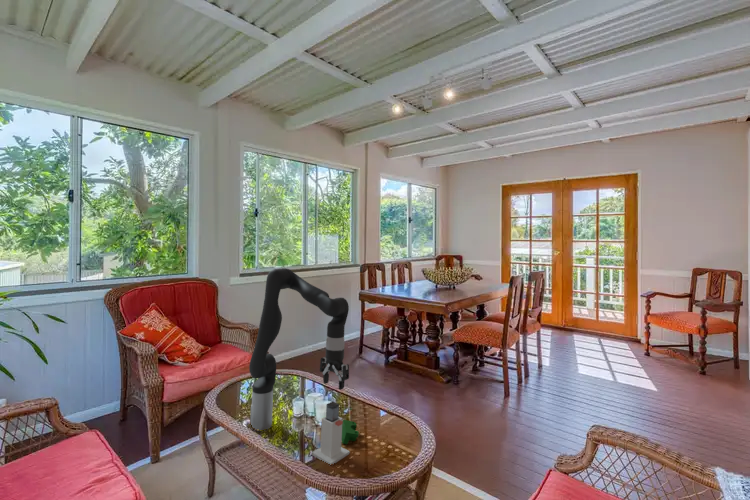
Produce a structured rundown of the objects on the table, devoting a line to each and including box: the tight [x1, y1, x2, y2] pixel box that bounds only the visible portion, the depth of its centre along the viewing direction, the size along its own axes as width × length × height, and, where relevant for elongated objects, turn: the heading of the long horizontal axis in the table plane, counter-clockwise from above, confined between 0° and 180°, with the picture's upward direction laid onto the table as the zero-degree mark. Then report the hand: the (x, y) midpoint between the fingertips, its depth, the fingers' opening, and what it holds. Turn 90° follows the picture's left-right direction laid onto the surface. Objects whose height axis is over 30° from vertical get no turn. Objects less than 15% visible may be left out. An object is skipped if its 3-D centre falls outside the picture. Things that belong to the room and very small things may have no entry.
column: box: [325, 401, 340, 422], centre depth 151 cm, size 4×4×20 cm
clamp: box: [341, 419, 360, 445], centre depth 164 cm, size 12×6×9 cm, turn 5°
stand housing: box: [311, 416, 351, 466], centre depth 151 cm, size 11×11×15 cm
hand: (333, 386), depth 150 cm, fingers open, 8 cm apart
